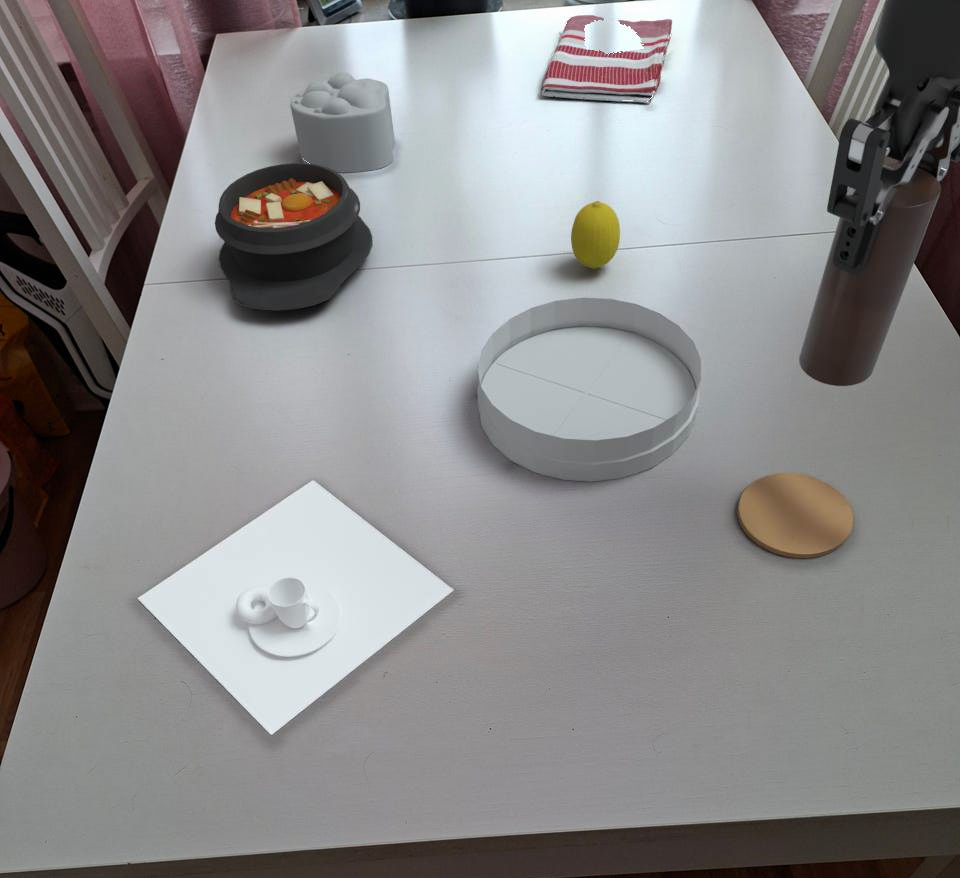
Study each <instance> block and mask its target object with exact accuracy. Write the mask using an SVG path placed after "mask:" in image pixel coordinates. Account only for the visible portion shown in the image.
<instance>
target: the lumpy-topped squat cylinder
mask: <svg viewBox="0 0 960 878" xmlns="http://www.w3.org/2000/svg"><path fill="white" fill-rule="evenodd" d="M389 92H390V90H389V86H388V85H387V84H386V83H385V82H383V81H380V80H376V79H373V78H360V79H359V78H358V79H355V78H354V76H353V75H352V74H350V73H348V72H345V71H340V72H337V73H335V74H334V75H332V76H331V77H329V79H328V80H327V81H325V80H315V81H313V82H310V83H309V84H308V85H307V87H306V88H305V89H304V90H301V91H300V92H298V93H296V94H295V95H294V96H293V97H292V98H291V99H290V104H289V107H290V111H291V115H292V121H293V125H294V130H295V135H296V139H297V144H298V149H299V153H300V158H301V161H302V163H307V162H309V163H310V164H316V165H320V166H324V167H327V168H330V169H332V170H334V171H336V172H337V173H339V174H341V173H343V174H344V173H359V172H367V171H376V170H380V169H382V168H385V167H388V166H389V165H391V164H392V162H394V152H393V150H394V148H395V144H396V141H395V140H396V139H395V138H396V137H395V130H394V122H393V116H392V106H391V99H390V98H391V97H390V93H389ZM301 156H302V157H301ZM302 158H304V160H306V161H307V162H306V161H304V160H303V159H302ZM309 163H308V164H309Z"/></svg>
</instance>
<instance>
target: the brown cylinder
mask: <svg viewBox="0 0 960 878" xmlns="http://www.w3.org/2000/svg"><path fill="white" fill-rule="evenodd" d="M901 164H902V163H899V162H884V163H883V165H886V166H888V167H891V168H893V169H897V168H898V167H899V166H900V165H901ZM882 186H883V182H882V181H881V180H880V181H879V185H878V189H877V193H876V198H875V201H876V199H877V197H878V195H879V193H880V191H881V189H882ZM849 188H850V187H848V190H849ZM848 190H847V192H848ZM941 191H942V187H941V183H940V181H939V182H938V180H937V179H936V178H935V177H934V176H933V175H931V174H930V173H928V172H927V171H925V170H923V169H920V168H916V170H915V172H914V173H913V175H912V177H911V179H910V181H909V183H908V184H907V185H905V186H903V187H899V188H898V189H897V190H896V192H895V194H894V196H893V198H892V200H891V202H890V204H889V206H888V208H887V210H886V212H885V214H884V216H883V218H882V219H881V220H882V222H881V225H880V228H879V231H878V234H877V237H876V240H875V243H874V246H873V249H872V252H871V255H870V258H869V261H868V264H867V267H866V269H865V270H863V271H862V272H860V273H859V274H857V275H852V274H850V273H848V272H846V271H844V270H841V269H839V268H837V267H836V266H835V265H834V264H833V255H834V252H835V249H836V245H837V242H838V239H839V235H840V232H841V228H842V225H843V222H844V219H842V218H840V217H838V221H837V226H836V228H835V232H834V235H833V238H832V242H831V245H830V250H829V252H828V256H827V260H826V263H825V265H824V266H825V267H824V269H823V274H822V277H821V281H820V284H819V287H818V290H817V294H816V298H815V301H814V305H813V308H812V311H811V315H810V318H809V321H808V325H807V329H806V331H805V336H804V338H803V342H802V346H801V350H800V352H799V356H798V362H799V363H798V364H799V366H800V368H801V369H802V371H803V372H804V373H805V375H807V376H808V377H810V378H811V379H813V380H814V381H816V382H819V383H822V384H825V385H828V386H835V387H849V386H855V385H858V384H861V383H863V382H865V381H866V380H868V379H869V378H870V377H871V376H872V374H873V372H874V370H875V367H876V365H877V362H878V359H879V357H880V354H881V352H882V348H883V346H884V344H885V340H886V338H887V335H888V332H889V331H890V327H891V324H892V322H893V319H894V317H895V314H896V311H897V309H898V306H899V303H900V301H901V299H902V296H903V293H904V290H905V287H906V285H907V282H908V280H909V277H910V274H911V272H912V269H913V267H914V264H915V261H916V258H917V256H918V253H919V250H920V248H921V245H922V242H923V240H924V237H925V235H926V231H927V229H928V226H929V223H930V221H931V219H932V216H933V213H934V211H935V208H936V205H937V202H938V200H939V198H940V194H941Z"/></svg>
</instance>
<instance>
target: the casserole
mask: <svg viewBox="0 0 960 878" xmlns="http://www.w3.org/2000/svg"><path fill="white" fill-rule="evenodd" d="M360 211H361V202H360V198H359V196H358V194H357V193H356V192H355V191H354V189H352V188H351V187H350V186H349V184H348V182H347V180H346V179H345V178H344V177H343V175H341V173H337V172H336V171H334V170H332V169H330V168H327V167H324V166H320V165H316V164H308V163H304V162H290V163H280V164H274V165H270V166H266V167H262V168H259V169H256V170H253V171H251V172H249V173H246V174H245V175H243V176H241V177H239V178H237V179H236V180H234V181H233V182H232V183H231V184H229V185H228V186H227V188H225V190H223V192H222V194H221V195H220V198H219V201H218V212H217V213H216V215H215V220H214V227H215V231H216V233H217V235H218V236H219V238H220V239H221V240H222V241H223V244H222V245H221V248H220V250H219V254H218V262H219V267H220V269H221V271H222V273H223V274H224V276H225V278H226V279H227V281H228V283H229V287H230V291H231V295H232V300H234V301H235V302H236V303H238V304H239V305H241V306H244V307H247V308H249V309H254V310H255V309H256V310H260V311H261V310H262V311H288V310H289V311H290V310H297V309H302V308H303V309H304V308H307V307H308V308H309V307H312V306H315V305H318V304H321V303H324V302H325V301H327V300H329V299H330V298H332V297H333V296H334V295H335V294H336V293H337V292H338V290H339V288H340V287H341V286H342V284H343V283H344V282H345V281H346V279H347V278H348V277H349V276H351V275H352V274H353V273H354V272H355V271H356V270H357V269H358V268H359V267H360V266H362V265H363V264H364V263H365V261H366V260H367V258H368V257H369V255H370V253H371V251H372V248H373V235H372V231H371V229H370V228H369V226H368V225H367V224H366V223H365V222H364V220H363V219H362V218H361V217H360V216H359V214H360Z"/></svg>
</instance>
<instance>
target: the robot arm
mask: <svg viewBox="0 0 960 878" xmlns="http://www.w3.org/2000/svg"><path fill="white" fill-rule="evenodd" d="M874 45H875V50H876V52H877V54H878V55H879V57H880V58H881V59H882V60H883V61H884V63H885V64H886V67H887V69H888V78H887V79H886V82H885V84H884V86H883V89H882V91H881V93H880V95H879V97H878V99H877V101H876V103H875V106H874V109H873V111H872V115H871V116H869V117H868V118H867V119H866V120H865V121H861V120H858V119H856V118H853V117H851V118H849V119H848V120H847V121H845V123H844V125H843V127H842V129H841V131H840V134H839V135H840V136H839V141H838V145H837V151H836V157H835V161H834V162H835V163H834V168H833V174H832V178H831V179H832V180H831V184H830V191H829V195H828V201H827V206H826V211H827V213H828V214H830V215H833V216H836V217H838V218H842V219H844V222H843V225H842V228H841V232H840V235H839V239H838V242H837V245H836V249H835V252H834V255H833V264H834V265H835V266H836V267H837V268H839V269H841V270H844V271H846V272H848V273H850V274H852V275H857V274H859V273H860V272H862V271H863V270H865V269H866V267H867V264H868V261H869V258H870V255H871V252H872V249H873V246H874V243H875V240H876V237H877V234H878V231H879V228H880V225H881V222H882V220H881V219H882V218H883V216H884V214H885V212H886V210H887V208H888V206H889V204H890V202H891V200H892V198H893V196H894V194H895V192H896V190H897V189H898V188H899V187H903V186H905V185H907V184H908V183H909V181H910V179H911V177H912V175H913V173H914V172H915V170H916V168H920V169H923V170H925V171H927V172H928V173H930V174H931V175H933V176H934V177H935V178H936V179H937V180H938V182H939V183H940V182H941V181H943V179H944V177H946V175H947V173H948V170H949V167H950V164H951V163H950V161H951V162H954V163H958V162H959V161H960V0H885V2H884V5H883V9H882V13H881V17H880V20H879V23H878V27H877V31H876V34H875V40H874ZM886 157H888V158H890V159H892V160H896V161H898V162H901V163H900V164H901V165H900V166H899V167H898V168H897V169H893V168H891V167H888V166H886V165H883V163H885V159H886ZM880 180H881V181H882V182H883V186H882V189H881V191H880V193H879V195H878V197H877V199H876V201H875V198H876V193H877V189H878V185H879V181H880ZM848 187H850V188H849V190H848ZM847 190H848V192H847Z"/></svg>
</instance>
